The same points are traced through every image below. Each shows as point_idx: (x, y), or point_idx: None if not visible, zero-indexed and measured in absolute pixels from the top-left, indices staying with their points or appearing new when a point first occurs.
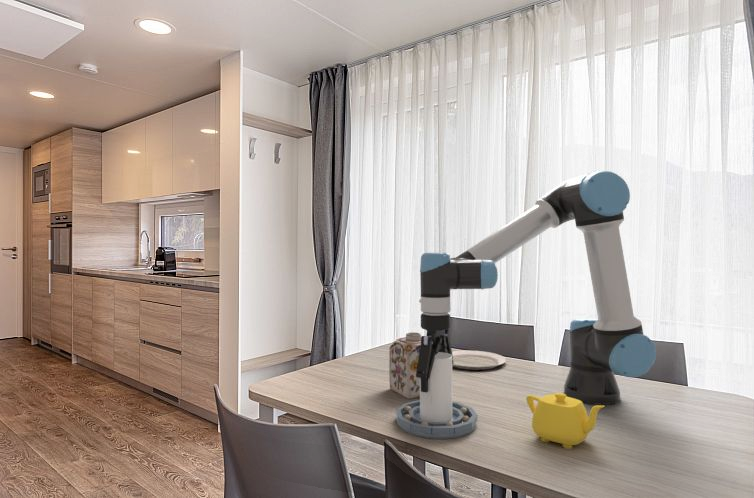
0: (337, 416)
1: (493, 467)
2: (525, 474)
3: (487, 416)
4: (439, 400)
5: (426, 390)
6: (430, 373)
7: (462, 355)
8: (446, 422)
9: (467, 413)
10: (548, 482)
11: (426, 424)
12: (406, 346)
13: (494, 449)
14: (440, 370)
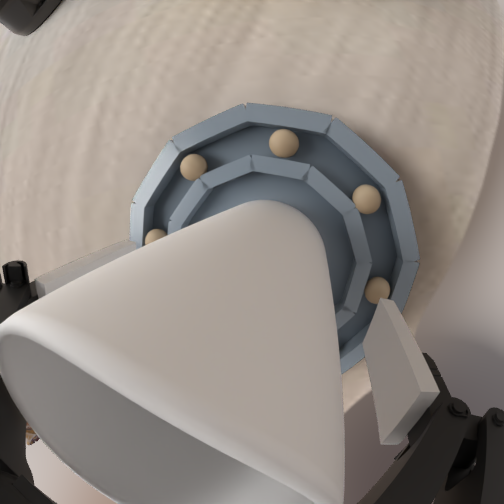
0: None
1: (497, 87)
2: (490, 34)
3: (162, 101)
4: (327, 270)
5: (432, 360)
6: (439, 422)
7: None
8: (349, 214)
9: (187, 155)
10: (491, 11)
11: (387, 284)
12: (28, 431)
13: (417, 64)
14: (333, 379)
